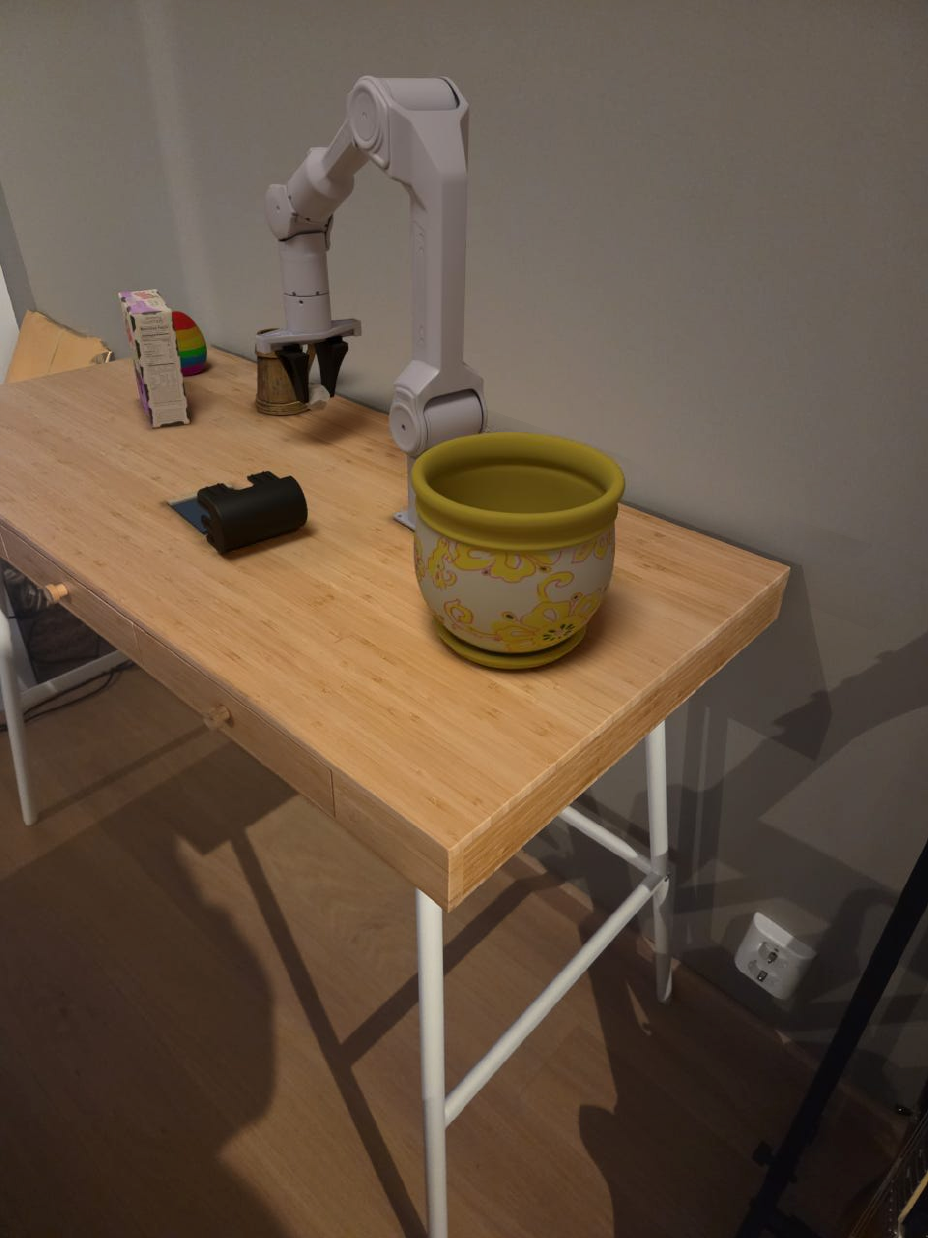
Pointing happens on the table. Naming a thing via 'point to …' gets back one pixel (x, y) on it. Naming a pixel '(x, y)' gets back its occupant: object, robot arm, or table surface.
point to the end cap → (252, 511)
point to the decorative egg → (189, 344)
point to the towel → (190, 509)
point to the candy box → (155, 357)
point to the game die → (317, 397)
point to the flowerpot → (514, 543)
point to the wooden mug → (277, 383)
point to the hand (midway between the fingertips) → (316, 398)
